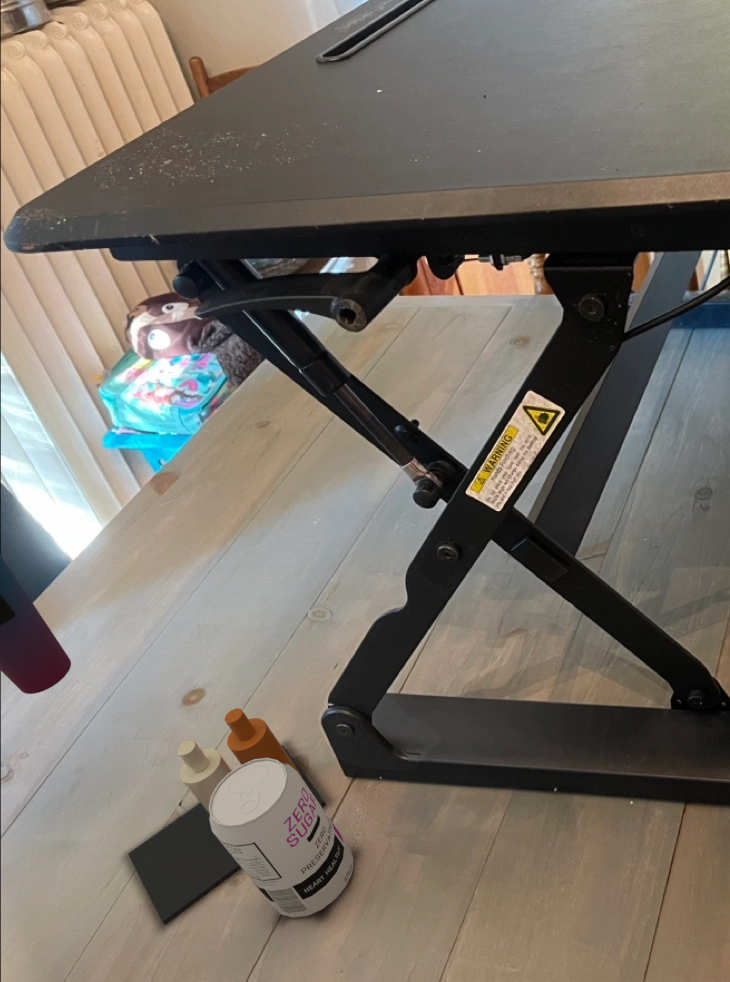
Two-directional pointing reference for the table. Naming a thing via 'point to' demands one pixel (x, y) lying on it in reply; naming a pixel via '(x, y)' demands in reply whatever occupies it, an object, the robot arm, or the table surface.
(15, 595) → the cup
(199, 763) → the cream bottle
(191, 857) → the mat
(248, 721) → the amber bottle
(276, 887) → the supplement can
